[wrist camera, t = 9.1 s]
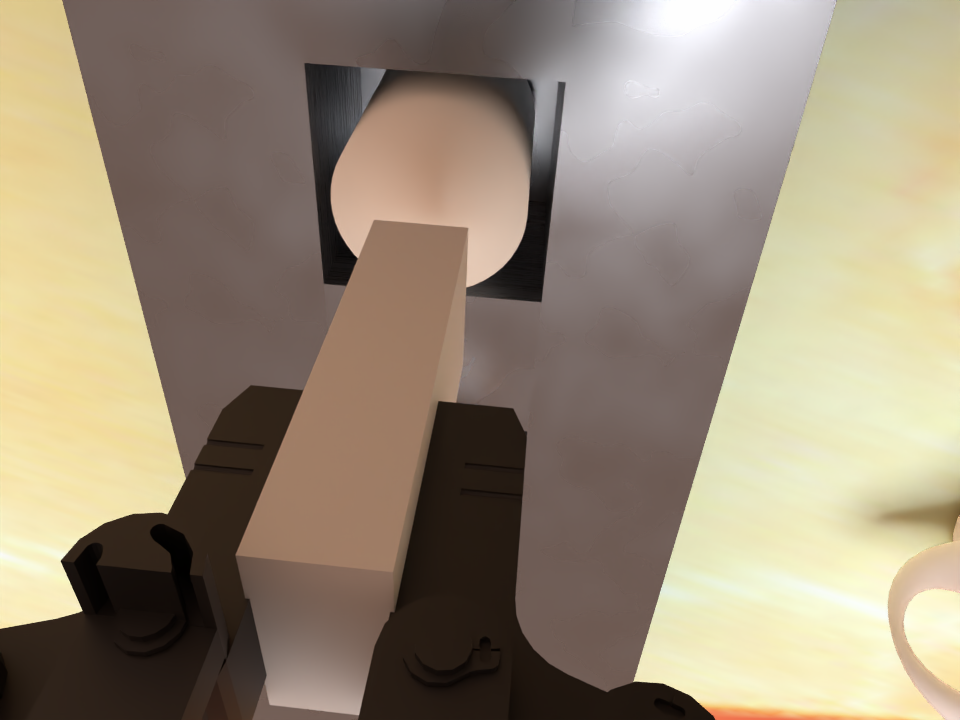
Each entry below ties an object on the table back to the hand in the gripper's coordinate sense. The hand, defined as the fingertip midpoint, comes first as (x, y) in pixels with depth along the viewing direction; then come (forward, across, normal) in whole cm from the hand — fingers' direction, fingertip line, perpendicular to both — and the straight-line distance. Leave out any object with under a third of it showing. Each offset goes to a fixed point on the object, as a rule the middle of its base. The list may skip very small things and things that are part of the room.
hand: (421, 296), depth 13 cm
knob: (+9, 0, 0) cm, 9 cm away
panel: (+10, 0, -9) cm, 14 cm away
